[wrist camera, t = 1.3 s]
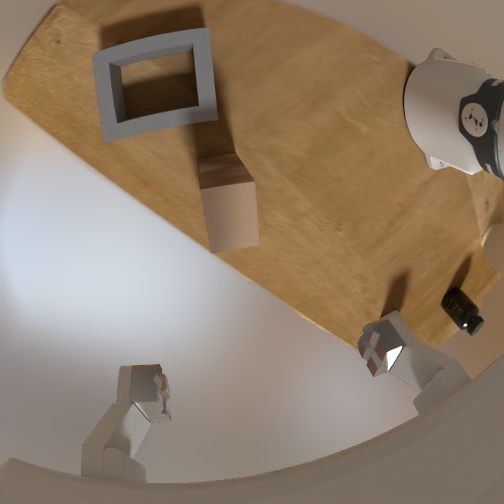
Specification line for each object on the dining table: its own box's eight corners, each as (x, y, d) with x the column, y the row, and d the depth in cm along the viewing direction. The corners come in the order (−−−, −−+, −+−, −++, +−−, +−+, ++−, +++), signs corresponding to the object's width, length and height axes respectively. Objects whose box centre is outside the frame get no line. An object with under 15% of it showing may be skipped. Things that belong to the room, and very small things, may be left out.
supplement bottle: (442, 311, 56) (468, 343, 46) (438, 300, 53) (466, 335, 43) (460, 293, 54) (487, 323, 44) (457, 281, 51) (487, 313, 41)
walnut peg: (235, 152, 28) (254, 181, 20) (240, 199, 31) (259, 245, 23) (198, 158, 27) (199, 189, 19) (205, 205, 30) (210, 253, 22)
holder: (207, 36, 20) (209, 27, 17) (215, 116, 25) (218, 119, 22) (105, 58, 19) (92, 53, 16) (116, 136, 24) (105, 143, 21)
